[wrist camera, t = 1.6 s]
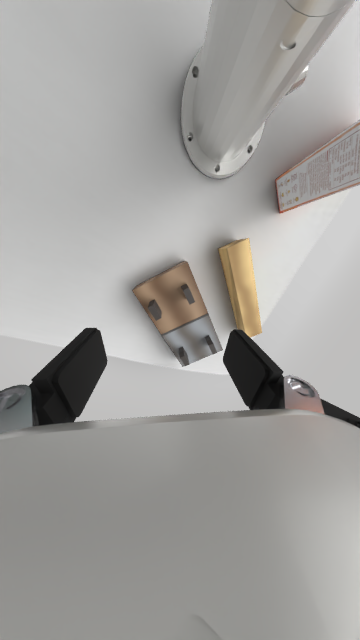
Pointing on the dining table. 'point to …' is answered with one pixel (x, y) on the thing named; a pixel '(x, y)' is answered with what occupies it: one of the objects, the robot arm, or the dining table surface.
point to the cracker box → (322, 171)
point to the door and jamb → (179, 313)
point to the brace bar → (241, 285)
